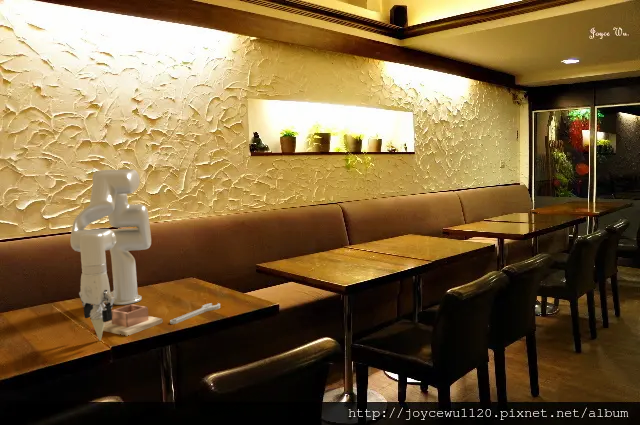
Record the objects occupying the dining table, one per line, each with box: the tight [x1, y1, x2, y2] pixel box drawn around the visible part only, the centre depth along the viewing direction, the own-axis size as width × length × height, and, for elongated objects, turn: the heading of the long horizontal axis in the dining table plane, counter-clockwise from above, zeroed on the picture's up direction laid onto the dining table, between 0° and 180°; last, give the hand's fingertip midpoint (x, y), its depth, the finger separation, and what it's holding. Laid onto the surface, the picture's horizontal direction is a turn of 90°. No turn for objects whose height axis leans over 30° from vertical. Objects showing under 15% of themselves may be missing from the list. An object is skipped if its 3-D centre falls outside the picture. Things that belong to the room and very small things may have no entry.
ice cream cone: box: [89, 304, 106, 341], centre depth 172 cm, size 5×5×15 cm
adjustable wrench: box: [169, 302, 221, 325], centre depth 200 cm, size 25×6×2 cm, turn 145°
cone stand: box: [103, 303, 164, 337], centre depth 187 cm, size 16×16×6 cm
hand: (98, 318), depth 172 cm, fingers open, 9 cm apart
